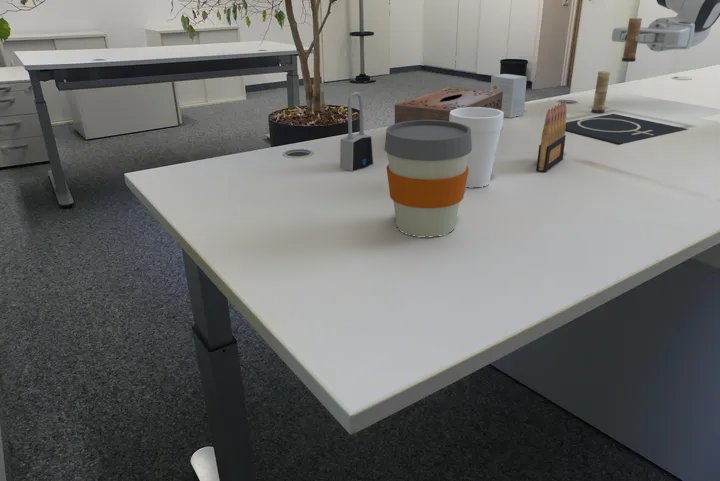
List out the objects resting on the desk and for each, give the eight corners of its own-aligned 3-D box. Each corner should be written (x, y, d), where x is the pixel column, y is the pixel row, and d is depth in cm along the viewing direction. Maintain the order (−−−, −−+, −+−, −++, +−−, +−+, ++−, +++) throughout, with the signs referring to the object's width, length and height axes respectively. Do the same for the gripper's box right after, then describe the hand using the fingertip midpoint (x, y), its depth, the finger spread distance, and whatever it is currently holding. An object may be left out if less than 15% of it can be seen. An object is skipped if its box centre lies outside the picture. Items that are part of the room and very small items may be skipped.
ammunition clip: (545, 172, 107) (552, 110, 102) (535, 171, 108) (542, 109, 103) (562, 159, 114) (570, 100, 109) (554, 157, 115) (561, 99, 110)
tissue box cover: (452, 158, 116) (454, 111, 112) (394, 149, 124) (394, 104, 120) (499, 132, 135) (503, 91, 131) (446, 126, 143) (448, 86, 139)
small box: (523, 115, 152) (527, 76, 148) (510, 118, 149) (513, 78, 145) (502, 111, 158) (505, 73, 154) (488, 113, 155) (491, 75, 151)
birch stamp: (607, 112, 153) (613, 72, 149) (598, 113, 152) (605, 73, 147) (597, 110, 156) (603, 70, 152) (588, 111, 155) (594, 72, 150)
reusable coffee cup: (481, 236, 81) (489, 135, 74) (401, 248, 78) (402, 144, 71) (445, 206, 92) (449, 116, 85) (374, 216, 89) (373, 123, 82)
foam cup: (505, 188, 99) (512, 116, 93) (456, 192, 97) (460, 119, 92) (486, 172, 107) (491, 105, 102) (440, 176, 106) (443, 108, 100)
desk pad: (690, 131, 132) (691, 129, 132) (624, 146, 122) (624, 143, 122) (613, 115, 150) (613, 113, 150) (549, 126, 140) (549, 124, 139)
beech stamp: (638, 61, 150) (645, 18, 145) (629, 62, 148) (637, 19, 144) (627, 59, 152) (634, 18, 148) (618, 60, 151) (625, 18, 146)
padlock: (353, 171, 110) (351, 95, 104) (338, 167, 113) (335, 93, 106) (375, 163, 114) (374, 90, 108) (360, 160, 117) (358, 88, 111)
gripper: (632, 21, 160) (599, 23, 154) (701, 23, 144) (667, 26, 138) (628, 44, 163) (596, 47, 157) (695, 49, 147) (662, 53, 141)
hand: (630, 37), depth 147 cm, fingers closed on beech stamp, 3 cm apart
